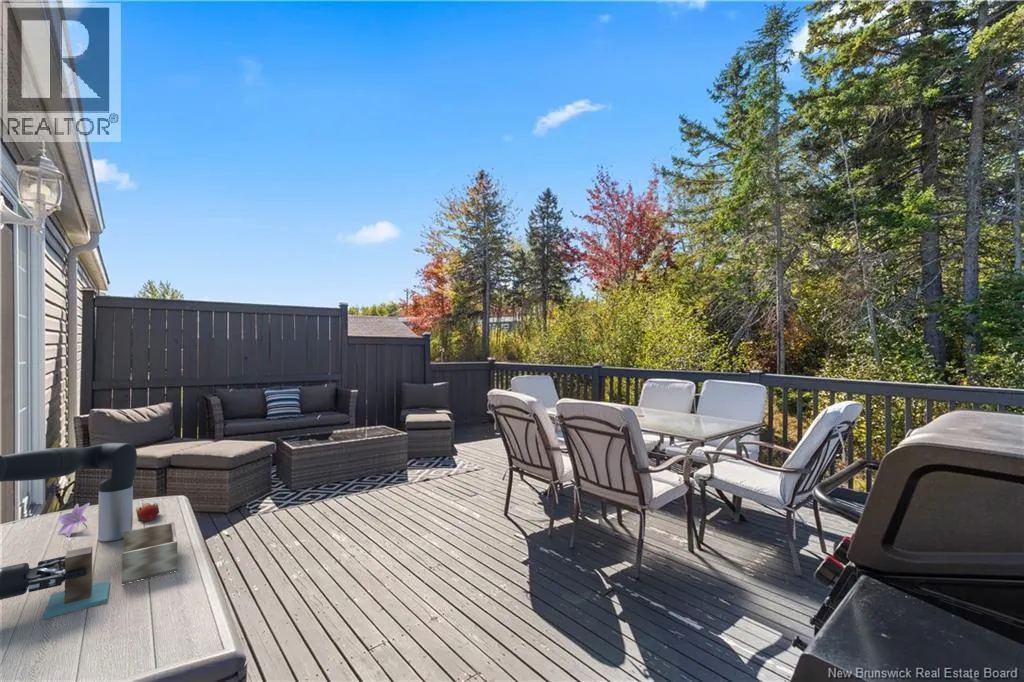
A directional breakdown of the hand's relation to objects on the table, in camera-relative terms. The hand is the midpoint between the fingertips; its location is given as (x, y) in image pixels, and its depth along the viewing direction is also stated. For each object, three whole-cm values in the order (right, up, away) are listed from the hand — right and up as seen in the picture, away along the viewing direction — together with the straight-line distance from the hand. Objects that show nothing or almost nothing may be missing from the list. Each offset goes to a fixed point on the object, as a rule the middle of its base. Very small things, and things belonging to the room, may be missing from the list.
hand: (88, 564), depth 124 cm
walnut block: (-1, -8, -1) cm, 8 cm away
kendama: (-31, -10, +58) cm, 67 cm away
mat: (-1, -9, -1) cm, 9 cm away
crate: (+2, -9, +18) cm, 20 cm away
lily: (-45, -9, +43) cm, 63 cm away
